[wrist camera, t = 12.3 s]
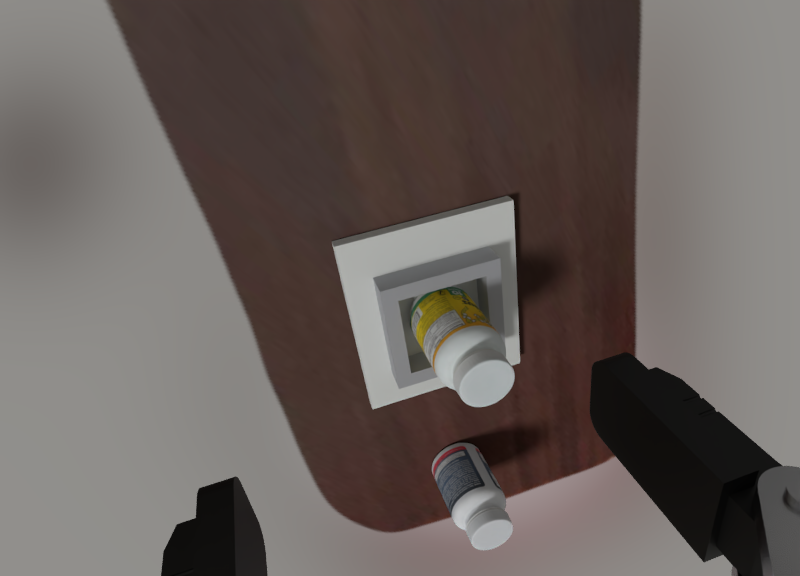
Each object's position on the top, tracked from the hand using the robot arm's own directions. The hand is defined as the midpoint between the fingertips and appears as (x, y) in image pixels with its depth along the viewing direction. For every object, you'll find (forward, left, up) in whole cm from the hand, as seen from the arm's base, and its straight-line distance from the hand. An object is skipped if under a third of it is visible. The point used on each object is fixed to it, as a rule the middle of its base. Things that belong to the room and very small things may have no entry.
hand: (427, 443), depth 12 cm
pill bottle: (+35, +8, -28) cm, 46 cm away
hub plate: (+16, +8, -28) cm, 33 cm away
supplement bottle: (+16, +8, -27) cm, 33 cm away
